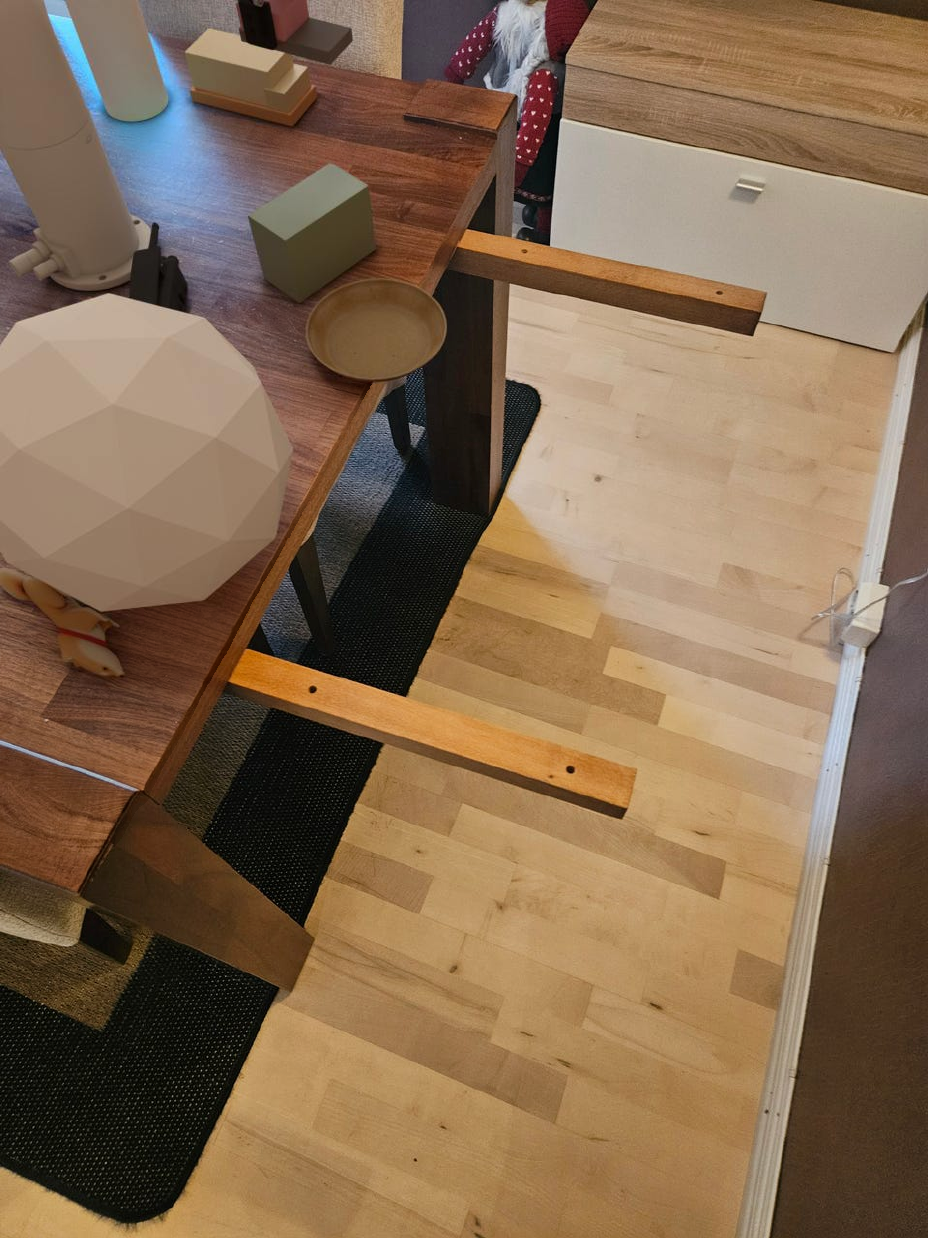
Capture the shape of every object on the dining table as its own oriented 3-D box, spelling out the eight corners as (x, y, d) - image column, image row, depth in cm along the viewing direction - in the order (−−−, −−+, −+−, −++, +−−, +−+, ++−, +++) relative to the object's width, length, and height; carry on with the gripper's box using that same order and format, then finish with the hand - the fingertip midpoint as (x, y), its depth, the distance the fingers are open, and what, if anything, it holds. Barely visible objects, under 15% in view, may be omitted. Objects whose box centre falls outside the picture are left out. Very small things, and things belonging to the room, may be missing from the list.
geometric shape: (-103, 339, 67) (-139, 595, 55) (135, 163, 60) (156, 410, 48) (124, 486, 87) (136, 700, 74) (324, 366, 80) (373, 579, 68)
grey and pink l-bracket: (353, 40, 82) (349, 1, 80) (330, 65, 81) (325, 26, 78) (265, 18, 84) (257, -21, 81) (241, 41, 82) (232, 2, 80)
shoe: (317, 96, 112) (309, 48, 106) (292, 126, 109) (283, 78, 103) (219, 73, 114) (207, 24, 109) (192, 101, 111) (178, 52, 106)
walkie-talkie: (189, 343, 87) (202, 213, 96) (128, 319, 83) (147, 186, 92) (169, 379, 91) (183, 251, 100) (109, 357, 88) (129, 227, 97)
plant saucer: (472, 327, 91) (472, 307, 89) (400, 416, 85) (398, 398, 83) (359, 280, 95) (356, 261, 93) (282, 364, 89) (277, 345, 87)
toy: (157, 648, 72) (123, 698, 72) (23, 559, 78) (-10, 604, 77) (135, 638, 69) (99, 689, 68) (-3, 546, 74) (-38, 593, 74)
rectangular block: (299, 303, 93) (285, 240, 86) (263, 278, 95) (247, 214, 88) (376, 249, 97) (369, 185, 90) (340, 226, 99) (330, 161, 92)
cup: (175, 86, 113) (133, -54, 99) (159, 123, 109) (113, -18, 95) (116, 83, 113) (65, -57, 99) (97, 119, 110) (42, -21, 96)
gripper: (213, -169, 62) (265, 86, 78) (324, -251, 69) (351, -2, 86) (128, -186, 64) (196, 67, 80) (246, -265, 71) (287, -18, 87)
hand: (276, 29), depth 82 cm, fingers closed on grey and pink l-bracket, 4 cm apart
